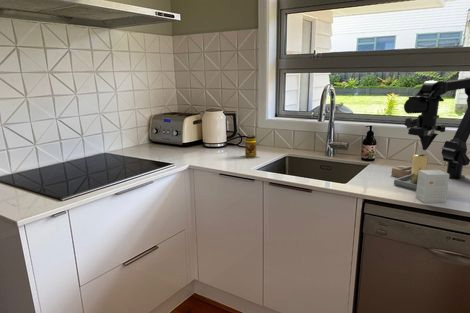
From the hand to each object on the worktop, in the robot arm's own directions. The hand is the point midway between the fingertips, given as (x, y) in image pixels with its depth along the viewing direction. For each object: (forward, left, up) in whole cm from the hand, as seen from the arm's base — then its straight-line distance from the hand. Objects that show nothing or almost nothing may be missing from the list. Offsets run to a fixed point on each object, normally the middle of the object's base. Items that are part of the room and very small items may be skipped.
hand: (424, 150), depth 140 cm
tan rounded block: (0, -7, -13) cm, 15 cm away
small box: (+21, +14, -13) cm, 28 cm away
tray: (+9, +3, -13) cm, 16 cm away
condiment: (+33, -77, -13) cm, 85 cm away
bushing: (+9, +3, -12) cm, 16 cm away
